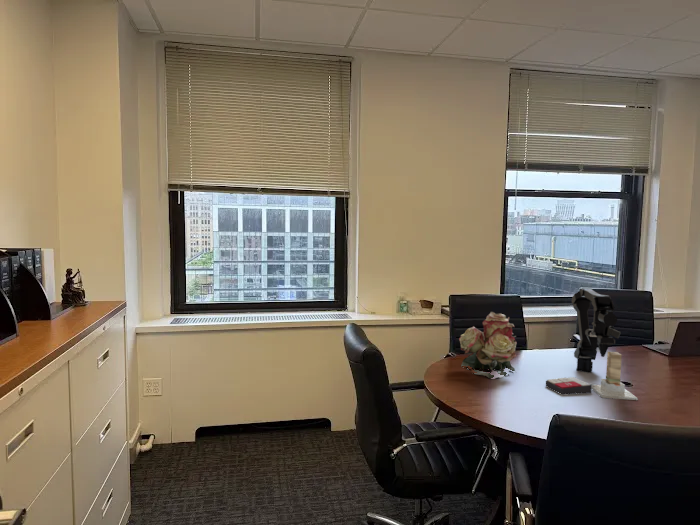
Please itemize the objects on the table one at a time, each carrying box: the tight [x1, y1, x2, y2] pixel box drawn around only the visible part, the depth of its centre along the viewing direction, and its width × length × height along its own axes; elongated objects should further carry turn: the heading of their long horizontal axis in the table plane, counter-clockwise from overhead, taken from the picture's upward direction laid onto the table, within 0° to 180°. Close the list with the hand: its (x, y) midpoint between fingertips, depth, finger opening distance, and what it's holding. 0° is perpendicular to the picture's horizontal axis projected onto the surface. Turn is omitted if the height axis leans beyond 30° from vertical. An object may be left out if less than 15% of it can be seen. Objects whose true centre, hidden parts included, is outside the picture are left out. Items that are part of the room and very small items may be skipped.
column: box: [605, 351, 623, 384], centre depth 190 cm, size 4×4×13 cm
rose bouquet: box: [458, 311, 518, 379], centre depth 217 cm, size 26×29×30 cm
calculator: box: [545, 376, 592, 395], centre depth 194 cm, size 11×4×15 cm
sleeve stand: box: [590, 378, 639, 401], centre depth 190 cm, size 14×14×6 cm
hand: (598, 354), depth 206 cm, fingers open, 9 cm apart
